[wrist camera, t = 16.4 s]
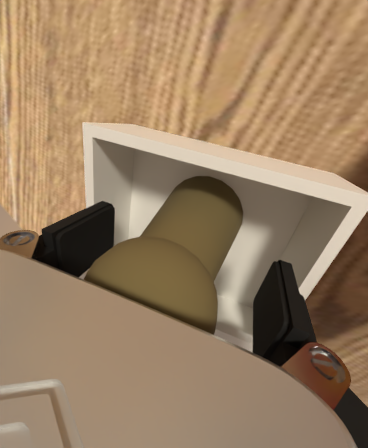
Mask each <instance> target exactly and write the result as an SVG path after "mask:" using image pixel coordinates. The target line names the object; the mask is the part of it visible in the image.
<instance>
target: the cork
mask: <svg viewBox="0 0 368 448" xmlns="http://www.w3.org/2000/svg"><path fill="white" fill-rule="evenodd" d="M242 221H243V209H242V205H241V202H240V199H239V197H238V196H237V195H236V193H235V192H234V190H233V189H232V188H231V187H230V186H228V185H227V184H226V183H224V182H223V181H221V180H219V179H216V178H213V177H210V176H195V177H192V178H189V179H186V180H184V181H183V182H181V183H180V184H179V185H177V186H176V187H175V188H174V190H173V191H172V193H171V194H170V195H169V197H168V198H167V199H166V201H165V202H164V204H163V205H162V206H161V208H160V209H159V211H158V212H157V213H156V215H155V216H154V217H153V219H152V220H151V222H150V223H149V224H148V226H147V227H146V229H145V230H144V231H143V233H142V234H141V235H140V237H136V238H132V239H128V240H125V241H123V242H120V243H118V244H116V245H115V246H114V247H112V248H111V249H109V250H108V251H107V252H105V253H104V254H103V255H101V256H100V257H99V258H98V259H96V260H95V261H94V263H93V264H92V266H91V267H90V269H89V270H88V272H87V273H86V275H85V278H84V280H86V281H88V282H91V283H93V284H95V285H98V286H100V287H103V288H105V289H107V290H110V291H112V292H114V293H117V294H119V295H122V296H124V297H126V298H129V299H131V300H133V301H136V302H138V303H140V304H143V305H145V306H148V307H150V308H152V309H155V310H157V311H159V312H162V313H164V314H166V315H169V316H171V317H173V318H176V319H178V320H180V321H183V322H185V323H187V324H190V325H192V326H194V327H197V328H199V329H201V330H204V331H206V332H208V333H210V334H213V335H214V333H215V329H216V323H217V313H218V299H217V291H216V288H215V285H214V281H215V279H216V276H217V274H218V272H219V270H220V268H221V266H222V264H223V262H224V260H225V258H226V256H227V254H228V252H229V250H230V248H231V246H232V244H233V242H234V240H235V238H236V236H237V234H238V232H239V230H240V227H241V225H242Z"/></svg>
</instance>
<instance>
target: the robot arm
mask: <svg viewBox="0 0 368 448" xmlns="http://www.w3.org/2000/svg"><path fill="white" fill-rule="evenodd" d="M114 223H115V208H114V207H113V205H112V204H111V203H108V202H105V201H101V202H98V203H96V204H94V205H92V206H90V207H88V208H86V209H84V210H81V211H79V212H77V213H75V214H73V215H71V216H69V217H67V218H65V219H62V220H60V221H58V222H56V223H54V224H52V225H50V226H48V227H46V228H43V229H42V235H40V236H39V235H38V234H37V233H36V232H34V231H30V230H19V231H14V232H10V233H8V234H6V235H4V236H2V237H1V238H0V448H368V407H367V406H366V405H365V404H364V403H363V402H362V401H361V400H360V399H359V398H358V397H357V396H356V395H355V394H354V393H353V392H352V391H351V389H350V388H349V386H350V383H351V378H350V373H349V371H348V369H347V367H346V366H345V364H344V363H343V361H342V360H341V359H340V358H339V357H338V356H337V355H336V354H335V353H334V352H333V351H331V350H330V349H329V348H327V347H325V346H324V345H322V344H319V343H317V341H316V337H315V334H314V330H313V327H312V324H311V320H310V317H309V313H308V310H307V306H306V303H305V299H304V297H303V295H301V294H300V293H299V289H298V285H297V282H296V278H295V274H294V271H293V267H292V264H291V263H288V262H285V261H282V260H278V261H277V262H276V261H274V262H273V263H272V265H271V267H270V269H269V271H268V273H267V275H266V276H265V278H264V280H263V282H262V284H261V286H260V288H259V290H258V292H257V294H256V296H255V298H254V301H253V353H252V352H250V351H248V350H246V349H244V348H242V347H240V346H238V345H235V344H233V343H231V342H229V341H226V340H224V339H222V338H219V337H217V336H215V335H213V334H210V333H208V332H206V331H204V330H201V329H199V328H197V327H194V326H192V325H190V324H187V323H185V322H183V321H180V320H178V319H176V318H173V317H171V316H169V315H166V314H164V313H162V312H159V311H157V310H155V309H152V308H150V307H148V306H145V305H143V304H140V303H138V302H136V301H133V300H131V299H129V298H126V297H124V296H122V295H119V294H117V293H114V292H112V291H110V290H107V289H105V288H103V287H100V286H98V285H95V284H93V283H91V282H88V281H86V280H83V279H81V278H79V277H80V276H81V275H82V274H83V273H85V272H86V271H87V270H88V269H89V268H90V267H91V266H92V264H93V263H94V261H95V260H96V259H98V258H99V257H100V256H101V255H103V254H104V253H105V252H107V251H108V250H109V249H111V248H112V247H113V246H114Z"/></svg>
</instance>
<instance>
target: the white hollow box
mask: <svg viewBox="0 0 368 448" xmlns="http://www.w3.org/2000/svg"><path fill="white" fill-rule="evenodd" d="M83 146H84V169H85V193H86V208H88V207H90V206H92V205H94V204H96V203H98V202H101V201H105V202H108V203H111V204H112V205H113V207H114V208H115V223H114V246H115V245H116V244H118V243H120V242H123V241H125V240H128V239H132V238H136V237H140V235H141V234H142V233H143V231H144V230H145V229H146V227H147V226H148V224H149V223H150V222H151V220H152V219H153V217H154V216H155V215H156V213H157V212H158V211H159V209H160V208H161V206H162V205H163V204H164V202H165V201H166V199H167V198H168V197H169V195H170V194H171V193H172V191H173V190H174V188H175V187H176V186H177V185H179V184H180V183H181V182H183V181H184V180H186V179H189V178H192V177H195V176H210V177H213V178H216V179H219V180H221V181H223V182H224V183H226V184H227V185H228V186H230V187H231V188H232V189H233V190H234V192H235V193H236V195H237V196H238V197H239V199H240V202H241V205H242V209H243V221H242V225H241V227H240V230H239V232H238V234H237V236H236V238H235V240H234V242H233V244H232V246H231V248H230V250H229V252H228V254H227V256H226V258H225V260H224V262H223V264H222V266H221V268H220V270H219V272H218V274H217V276H216V279H215V281H214V285H215V288H216V291H217V299H218V313H217V321H218V322H221V323H223V324H225V325H228V326H230V327H233V328H235V329H238V330H240V331H243V332H245V333H247V334H250V335H252V336H253V301H254V298H255V296H256V294H257V292H258V290H259V288H260V286H261V284H262V282H263V280H264V278H265V276H266V275H267V273H268V271H269V269H270V267H271V265H272V263H273V262H274V261H276V262H277V261H278V260H282V261H285V262H288V263H291V264H292V267H293V271H294V274H295V278H296V282H297V285H298V289H299V293H300V294H301V295H303V297H304V299H305V300H306V299H307V297H308V296H309V294H310V293H311V291H312V290H313V289H314V287H315V286H316V284H317V283H318V281H319V280H320V279H321V277H322V276H323V274H324V273H325V271H326V270H327V268H328V267H329V266H330V264H331V263H332V261H333V260H334V258H335V257H336V256H337V254H338V253H339V251H340V250H341V248H342V247H343V245H344V244H345V243H346V241H347V240H348V238H349V237H350V235H351V234H352V233H353V231H354V230H355V228H356V227H357V225H358V224H359V222H360V221H361V220H362V218H363V217H364V215H365V214H366V212H367V211H368V192H366V191H364V190H362V189H361V188H359V187H357V186H355V185H354V184H352V183H350V182H348V181H347V180H345V179H343V178H341V177H340V176H338V175H336V174H334V173H331V172H327V171H323V170H319V169H315V168H311V167H307V166H303V165H299V164H294V163H290V162H286V161H282V160H278V159H274V158H270V157H266V156H262V155H258V154H254V153H249V152H245V151H241V150H237V149H233V148H229V147H225V146H221V145H217V144H213V143H209V142H204V141H200V140H196V139H192V138H188V137H184V136H180V135H176V134H172V133H168V132H164V131H159V130H155V129H151V128H147V127H143V126H139V125H135V124H115V123H88V122H83ZM114 246H113V247H114ZM89 269H90V268H89Z"/></svg>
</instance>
